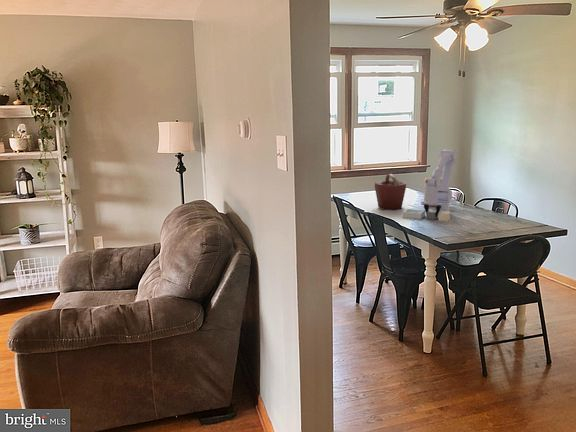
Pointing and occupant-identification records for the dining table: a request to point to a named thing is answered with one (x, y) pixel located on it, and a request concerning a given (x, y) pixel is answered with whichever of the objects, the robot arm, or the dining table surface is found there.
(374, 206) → the dining table surface
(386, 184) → the bucket
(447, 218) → the carton
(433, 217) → the metal block
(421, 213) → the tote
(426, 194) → the cracker box
